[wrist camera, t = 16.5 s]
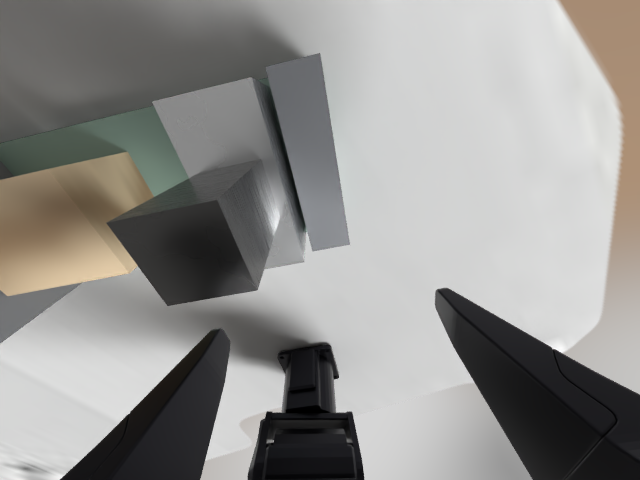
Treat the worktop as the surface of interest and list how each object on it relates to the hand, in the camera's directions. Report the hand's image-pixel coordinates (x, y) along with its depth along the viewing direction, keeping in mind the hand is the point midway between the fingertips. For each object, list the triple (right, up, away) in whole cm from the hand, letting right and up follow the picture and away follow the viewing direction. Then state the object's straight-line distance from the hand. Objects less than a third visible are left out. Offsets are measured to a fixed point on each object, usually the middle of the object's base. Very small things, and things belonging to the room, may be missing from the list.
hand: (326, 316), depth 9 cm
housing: (-16, +6, +7) cm, 18 cm away
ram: (-4, +8, +6) cm, 10 cm away
